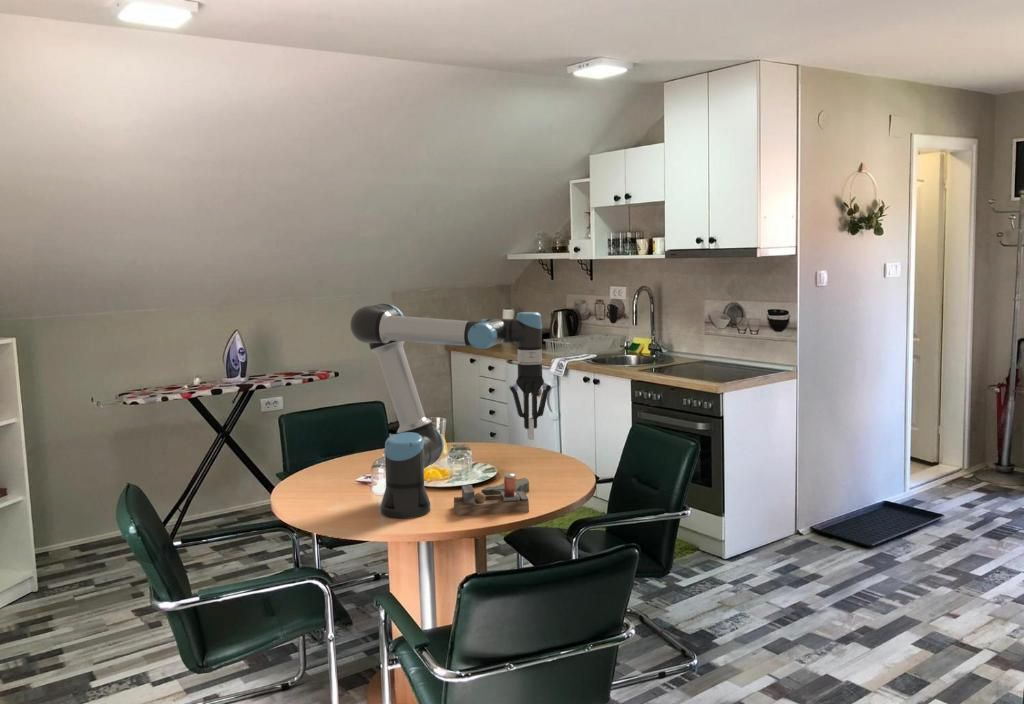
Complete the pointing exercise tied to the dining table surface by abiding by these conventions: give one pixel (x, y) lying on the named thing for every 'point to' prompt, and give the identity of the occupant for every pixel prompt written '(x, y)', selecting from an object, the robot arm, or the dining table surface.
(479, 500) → the nut
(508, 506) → the board
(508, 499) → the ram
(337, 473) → the dining table surface
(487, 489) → the rock
